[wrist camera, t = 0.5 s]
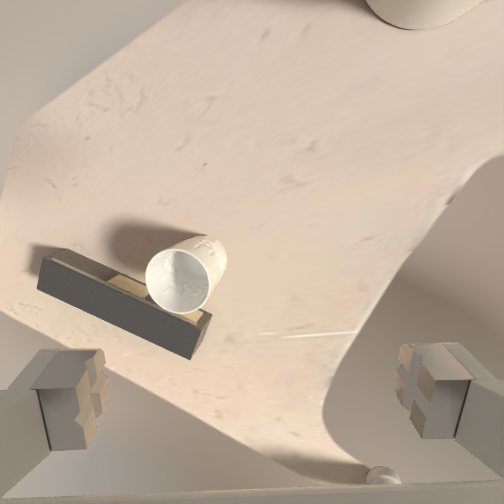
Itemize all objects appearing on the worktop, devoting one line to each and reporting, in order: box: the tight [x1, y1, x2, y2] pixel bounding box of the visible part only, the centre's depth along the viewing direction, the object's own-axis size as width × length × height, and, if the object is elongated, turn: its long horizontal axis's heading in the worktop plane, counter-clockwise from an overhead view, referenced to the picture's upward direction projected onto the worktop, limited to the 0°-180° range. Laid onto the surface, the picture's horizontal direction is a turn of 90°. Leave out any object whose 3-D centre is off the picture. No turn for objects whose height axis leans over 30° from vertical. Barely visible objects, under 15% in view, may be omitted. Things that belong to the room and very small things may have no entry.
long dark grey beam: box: [37, 249, 212, 360], centre depth 52 cm, size 5×24×5 cm, turn 69°
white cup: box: [145, 235, 227, 314], centre depth 46 cm, size 8×8×10 cm
